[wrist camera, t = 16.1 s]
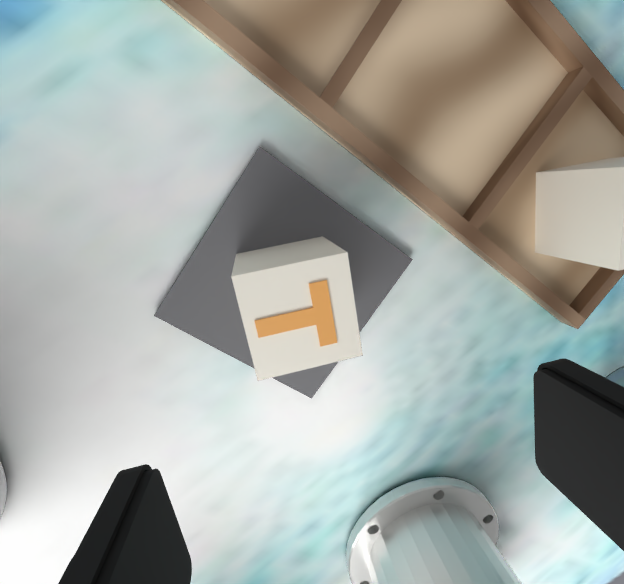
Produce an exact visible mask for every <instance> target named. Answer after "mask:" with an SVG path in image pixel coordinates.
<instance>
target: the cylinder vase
mask: <svg viewBox="0 0 624 584" xmlns="http://www.w3.org/2000/svg"><path fill="white" fill-rule="evenodd" d="M6 496H7V484H6V477H5V473H4V469H3V466H2V464H1V462H0V518H1V516H2V513H3V510H4V507H5V503H6Z"/></svg>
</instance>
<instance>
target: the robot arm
mask: <svg viewBox="0 0 624 584" xmlns="http://www.w3.org/2000/svg"><path fill="white" fill-rule="evenodd" d="M534 420H535V459H536V464H537V466H538V468H539V470H540V471H541V473H542V474H543V475H544V476H545V477H546V478H547V479H548V480H549V481H550V482H551V483H552V484H553V485H554V486H555V487H556V488H557V489H559V490H560V491H561V492H562V493H563V494H564V495H565V496H566V497H567V498H568V499H569V500H570V501H571V502H572V503H573V504H574V505H575V506H577V507H578V508H579V509H580V510H581V511H582V512H583V513H584V514H585V515H586V516H587V517H588V518H589V519H590V520H591V521H592V522H594V523H595V524H596V525H597V526H598V527H599V528H600V529H601V530H602V531H603V532H604V533H605V534H606V535H607V536H608V537H609V538H610V539H612V540H613V541H614V542H615V543H616V544H617V545H618V546H619V547H620V548H621V549H622V550H623V551H624V387H623V386H621V385H619V384H617V383H615V382H613V381H611V380H609V379H607V378H605V377H603V376H601V375H598V374H596V373H594V372H592V371H590V370H588V369H586V368H584V367H582V366H580V365H578V364H576V363H574V362H572V361H570V360H567V359H559V360H555V361H551V362H547V363H543V364H541V365H539V367H538V370H537V372H535V374H534ZM498 532H499V524H498V519H497V515H496V513H495V511H494V508H493V506H492V505H491V504H490V502H489V501H488V500H487V498H486V497H485V496H484V495H483V493H482V492H480V491H479V490H478V489H477V488H476V487H475V486H473V485H471V484H469V483H467V482H465V481H462V480H459V479H455V478H449V477H432V478H423V479H419V480H415V481H412V482H408V483H406V484H404V485H401V486H399V487H397V488H394V489H393V490H391V491H390V492H388V493H386V494H385V495H383V496H381V497H380V498H379V499H378V500H377V501H375V502H374V503H373V504H372V505H371V506H370V507H369V508H368V509H367V510H366V511H365V512H364V513H363V515H362V516H361V517H360V518H359V519H358V521H357V523H356V524H355V526H354V528H353V529H352V531H351V534H350V537H349V539H348V542H347V548H346V563H347V568H348V572H349V575H350V579H351V582H352V584H522V583H521V582H520V580H519V579H518V578H517V576H516V575H515V573H514V572H513V570H512V569H511V567H510V566H509V565H508V563H507V562H506V560H505V559H504V557H503V556H502V554H501V553H500V551H499V550H498V549H497V547H496V544H497V540H498ZM191 574H192V565H191V558H190V555H189V552H188V549H187V546H186V544H185V541H184V538H183V535H182V532H181V529H180V527H179V524H178V521H177V518H176V515H175V513H174V510H173V507H172V504H171V501H170V499H169V496H168V493H167V490H166V487H165V485H164V482H163V479H162V476H161V473H160V471H159V470H158V469H153V470H152V469H151V467H150V466H149V465H147V464H145V465H141V466H138V467H134V468H130V469H126V470H122V471H120V472H119V473H118V474H117V476H116V478H115V479H114V481H113V483H112V485H111V487H110V489H109V491H108V493H107V495H106V497H105V498H104V500H103V502H102V504H101V506H100V508H99V510H98V512H97V514H96V515H95V517H94V519H93V521H92V523H91V525H90V527H89V529H88V531H87V533H86V534H85V536H84V538H83V540H82V542H81V544H80V546H79V548H78V550H77V551H76V553H75V555H74V557H73V558H72V560H71V561H70V563H69V565H68V567H67V568H66V570H65V572H64V574H63V576H62V578H61V580H60V582H59V584H190V581H191Z"/></svg>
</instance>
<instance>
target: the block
mask: <svg viewBox="0 0 624 584" xmlns="http://www.w3.org/2000/svg"><path fill="white" fill-rule="evenodd" d="M535 253H539V254H544V255H549V256H553V257H558V258H562V259H567V260H572V261H576V262H581V263H585V264H590V265H595V266H599V267H604V268H608V269H613V270H618V271H619V270H624V157H616V158H607V159H602V160H597V161H592V162H587V163H582V164H576V165H571V166H566V167H561V168H556V169H551V170H546V171H541V172H536V206H535Z"/></svg>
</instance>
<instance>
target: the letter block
mask: <svg viewBox="0 0 624 584" xmlns="http://www.w3.org/2000/svg"><path fill="white" fill-rule="evenodd" d="M231 278H232V282H233V286H234V289H235V293H236V297H237V301H238V305H239V309H240V313H241V317H242V321H243V325H244V329H245V333H246V337H247V341H248V345H249V349H250V352H251V356H252V360H253V364H254V368H255V372H256V376H257V380H258V381H260V380H264V379H268V378H272V377H277V376H281V375H285V374H289V373H293V372H297V371H301V370H305V369H309V368H313V367H318V366H322V365H326V364H330V363H334V362H338V361H342V360H346V359H350V358H354V357H358V356H363V354H362V347H361V340H360V334H359V327H358V320H357V313H356V306H355V300H354V293H353V286H352V279H351V273H350V266H349V259H348V252H346V251H345V250H343V249H342V248H340V247H339V246H337V245H335V244H334V243H332V242H331V241H329V240H327V239H326V238H324V237H323V236H322V237H317V238H312V239H307V240H302V241H297V242H293V243H288V244H283V245H278V246H273V247H268V248H263V249H258V250H253V251H248V252H243V253H238V254H236V257H235V262H234V266H233V271H232V275H231Z"/></svg>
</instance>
